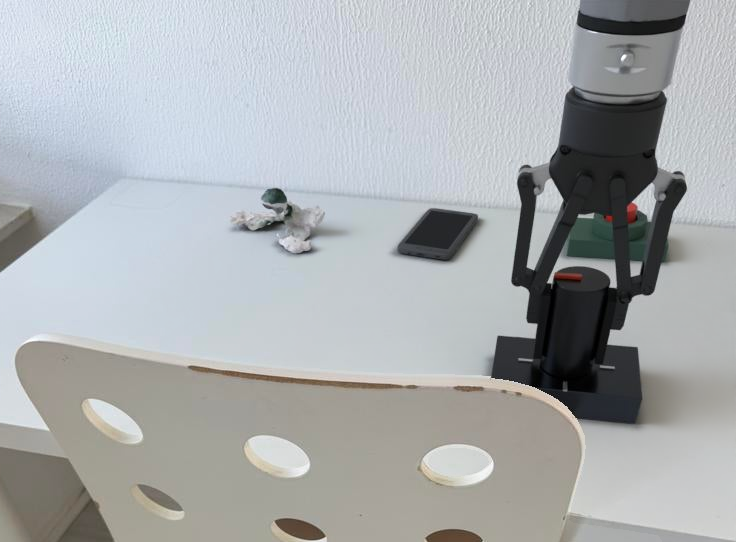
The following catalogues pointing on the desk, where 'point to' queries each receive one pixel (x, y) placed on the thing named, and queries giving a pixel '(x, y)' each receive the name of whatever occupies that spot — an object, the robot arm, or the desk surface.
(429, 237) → the cell phone
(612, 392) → the black base block
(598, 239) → the button block
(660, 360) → the desk surface
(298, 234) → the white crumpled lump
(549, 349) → the knob
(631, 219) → the button
